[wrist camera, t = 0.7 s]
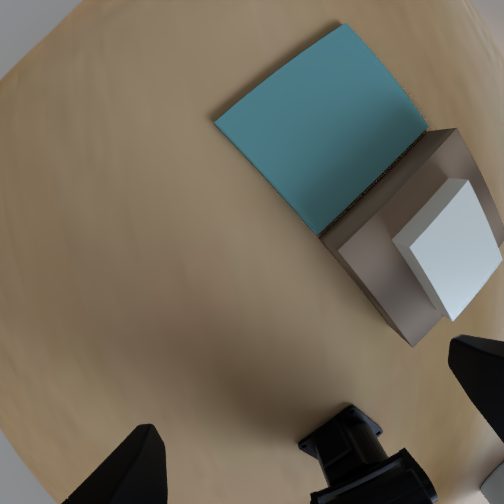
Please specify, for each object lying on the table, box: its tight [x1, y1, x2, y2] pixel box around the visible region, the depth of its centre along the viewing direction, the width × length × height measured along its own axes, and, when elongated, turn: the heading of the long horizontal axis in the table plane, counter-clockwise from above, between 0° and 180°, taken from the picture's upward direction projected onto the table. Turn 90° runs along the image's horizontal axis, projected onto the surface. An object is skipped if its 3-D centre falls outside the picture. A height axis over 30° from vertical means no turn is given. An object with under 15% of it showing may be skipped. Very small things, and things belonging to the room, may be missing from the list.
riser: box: [319, 128, 504, 347], centre depth 20 cm, size 10×12×4 cm
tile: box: [392, 178, 502, 322], centre depth 18 cm, size 7×6×2 cm
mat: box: [214, 23, 429, 235], centre depth 19 cm, size 10×12×1 cm
